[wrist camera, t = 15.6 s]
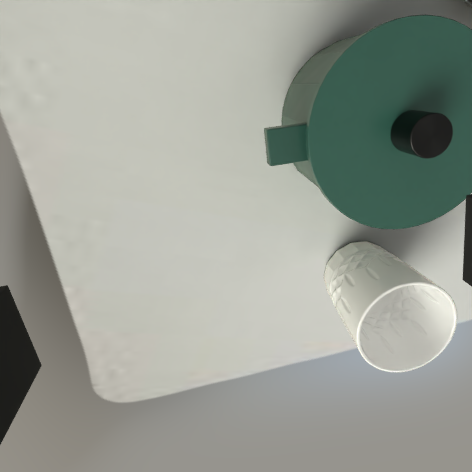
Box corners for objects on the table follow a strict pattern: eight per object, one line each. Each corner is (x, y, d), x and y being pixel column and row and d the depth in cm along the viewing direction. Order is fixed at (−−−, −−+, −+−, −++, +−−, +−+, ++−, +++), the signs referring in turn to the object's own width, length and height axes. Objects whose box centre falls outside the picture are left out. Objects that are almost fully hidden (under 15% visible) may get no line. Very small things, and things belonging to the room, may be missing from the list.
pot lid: (295, 32, 25) (314, 23, 21) (505, 5, 25) (557, -8, 22) (309, 237, 29) (326, 258, 26) (485, 208, 30) (525, 225, 27)
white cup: (360, 320, 42) (409, 387, 33) (301, 284, 40) (335, 345, 31) (411, 260, 41) (478, 313, 31) (352, 219, 38) (405, 263, 29)
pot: (241, 53, 32) (260, 43, 24) (457, 25, 34) (547, 6, 25) (257, 204, 37) (278, 239, 28) (448, 175, 38) (522, 201, 30)
